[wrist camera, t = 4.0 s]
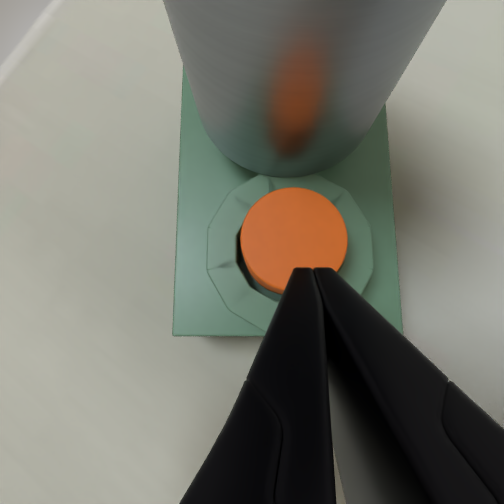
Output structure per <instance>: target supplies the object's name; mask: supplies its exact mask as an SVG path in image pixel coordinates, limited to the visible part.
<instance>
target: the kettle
mask: <svg viewBox="0 0 504 504" xmlns="http://www.w3.org/2000/svg"><path fill="white" fill-rule="evenodd" d="M446 1H447V0H163V2H164V5H165V8H166V11H167V14H168V17H169V21H170V24H171V27H172V30H173V33H174V37H175V40H176V43H177V46H178V49H179V52H180V56H181V59H182V62H183V65H184V68H185V71H186V75H187V78H188V81H189V84H190V87H191V91H192V94H193V97H194V100H195V103H196V106H197V110H198V113H199V116H200V119H201V122H202V125H203V127H204V129H205V131H206V133H207V135H208V136H209V138H210V139H211V140H212V142H213V143H214V145H215V146H216V147H217V148H218V149H219V150H220V151H221V152H222V153H223V154H224V155H225V156H227V157H228V158H229V159H230V160H232V161H233V162H235V163H237V164H238V165H240V166H242V167H244V168H246V169H248V170H250V171H253V172H256V173H259V174H263V175H268V176H273V177H301V176H306V175H311V174H314V173H317V172H320V171H323V170H326V169H328V168H330V167H332V166H334V165H336V164H337V163H339V162H340V161H342V160H343V159H345V158H346V157H347V156H348V155H349V154H350V153H352V152H353V151H354V150H355V149H356V147H357V146H358V145H359V144H360V143H361V142H362V140H363V139H364V137H365V136H366V134H367V132H368V131H369V129H370V127H371V126H372V124H373V122H374V121H375V119H376V117H377V116H378V114H379V112H380V111H381V109H382V107H383V106H384V104H385V102H386V101H387V99H388V97H389V96H390V94H391V92H392V91H393V89H394V87H395V86H396V84H397V82H398V81H399V79H400V77H401V76H402V74H403V72H404V71H405V69H406V67H407V66H408V64H409V62H410V61H411V59H412V57H413V56H414V54H415V52H416V51H417V49H418V47H419V46H420V44H421V42H422V41H423V39H424V37H425V36H426V34H427V32H428V31H429V29H430V27H431V26H432V24H433V22H434V21H435V19H436V17H437V16H438V14H439V12H440V11H441V9H442V7H443V6H444V4H445V2H446Z"/></svg>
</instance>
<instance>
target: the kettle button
mask: <svg viewBox="0 0 504 504" xmlns="http://www.w3.org/2000/svg"><path fill="white" fill-rule="evenodd" d="M240 241H241V249H242V253H243V257H244V260H245V263H246V266H247V268H248V270H249V272H250V274H251V275H252V277H253V278H254V279H255V280H256V281H257V282H258V283H259V284H260V285H261V286H263V287H264V288H266V289H267V290H269V291H272V292H274V293H277V294H283V292H284V289H285V287H286V285H287V282H288V280H289V278H290V275H291V273H292V271H293V269H294V268H295V267H310V268H312V269H313V268H315V267H331V268H332V269H334V270H335V271H336V272H337V271H338V270H339V268H340V267H341V265H342V263H343V261H344V259H345V255H346V252H347V246H348V236H347V229H346V225H345V222H344V220H343V218H342V216H341V214H340V212H339V211H338V210H337V208H336V207H335V206H334V205H333V204H332V203H331V202H330V201H329V200H328V199H327V198H325V197H324V196H322V195H321V194H319V193H317V192H314V191H312V190H309V189H305V188H298V187H289V188H282V189H278V190H275V191H272V192H270V193H268V194H266V195H265V196H263V197H261V198H260V199H259V200H258V201H257V202H256V203H255V204H254V205H253V206H252V207H251V208H250V210H249V211H248V213H247V215H246V217H245V219H244V221H243V224H242V228H241V236H240Z"/></svg>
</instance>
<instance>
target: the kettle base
mask: <svg viewBox="0 0 504 504" xmlns="http://www.w3.org/2000/svg"><path fill="white" fill-rule="evenodd" d="M289 187H298V188H305V189H309V190H312V191H314V192H317V193H319V194H321V195H322V196H324V197H325V198H327V199H328V200H329V201H330V202H331V203H332V204H333V205H334V206H335V207H336V208H337V210H338V211H339V212H340V214H341V216H342V218H343V220H344V222H345V225H346V229H347V236H348V246H347V252H346V255H345V259H344V261H343V263H342V265H341V267H340V268H339V270H338V271H337V273H338V274H339V275H340V276H341V277H342V278H343V279H344V280H345V281H346V282H347V283H348V284H349V285H351V286H352V287H353V288H354V289H355V290H356V291H357V292H358V293H359V294H360V295H361V296H362V297H363V298H364V299H365V300H366V301H367V302H368V303H369V304H371V305H372V306H373V307H374V308H375V309H376V310H377V311H378V312H379V313H380V314H381V315H382V316H383V317H384V318H385V319H386V320H387V321H388V322H390V323H391V324H392V325H393V326H394V327H395V328H396V329H397V330H398V331H399V332H400V333H401V334H402V335H403V326H402V313H401V300H400V288H399V275H398V262H397V249H396V236H395V223H394V210H393V197H392V184H391V171H390V158H389V145H388V132H387V119H386V106H385V104H384V106H383V107H382V109H381V111H380V112H379V114H378V116H377V117H376V119H375V121H374V122H373V124H372V126H371V127H370V129H369V131H368V132H367V134H366V136H365V137H364V139H363V140H362V142H361V143H360V144H359V145H358V146H357V147H356V149H355V150H354V151H353V152H352V153H350V154H349V155H348V156H347V157H346V158H345V159H343V160H342V161H340V162H339V163H337V164H336V165H334V166H332V167H330V168H328V169H326V170H323V171H320V172H317V173H314V174H311V175H306V176H301V177H273V176H268V175H263V174H259V173H256V172H253V171H250V170H248V169H246V168H244V167H242V166H240V165H238V164H237V163H235V162H233V161H232V160H230V159H229V158H228V157H227V156H225V155H224V154H223V153H222V152H221V151H220V150H219V149H218V148H217V147H216V146H215V145H214V143H213V142H212V140H211V139H210V138H209V136H208V135H207V133H206V131H205V129H204V127H203V125H202V122H201V119H200V116H199V113H198V110H197V106H196V103H195V100H194V97H193V94H192V91H191V87H190V84H189V81H188V78H187V75H186V71H185V68H184V65H183V80H182V106H181V131H180V156H179V181H178V206H177V231H176V256H175V281H174V306H173V332H172V334H173V336H265V334H266V331H267V329H268V327H269V324H270V322H271V320H272V317H273V315H274V313H275V310H276V308H277V306H278V303H279V301H280V299H281V296H282V294H277V293H274V292H272V291H269V290H267V289H266V288H264V287H263V286H261V285H260V284H259V283H258V282H257V281H256V280H255V279H254V278H253V277H252V275H251V274H250V272H249V270H248V268H247V266H246V263H245V260H244V257H243V253H242V249H241V241H240V236H241V228H242V224H243V221H244V219H245V217H246V215H247V213H248V211H249V210H250V208H251V207H252V206H253V205H254V204H255V203H256V202H257V201H258V200H259V199H260V198H261V197H263V196H265V195H266V194H268V193H270V192H272V191H275V190H278V189H282V188H289Z"/></svg>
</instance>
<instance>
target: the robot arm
mask: <svg viewBox="0 0 504 504" xmlns="http://www.w3.org/2000/svg"><path fill="white" fill-rule="evenodd" d="M332 442H333V445H332ZM333 447H334V451H335V456H336V460H337V464H338V469H339V473H340V478H341V482H342V487H343V491H344V496H345V500H346V504H504V429H503V428H502V427H501V426H500V425H499V424H497V423H496V422H495V421H494V420H493V419H492V418H491V417H490V416H489V415H488V414H486V413H485V412H484V411H483V410H482V409H481V408H480V407H479V406H478V405H477V404H475V403H474V402H473V401H472V400H471V399H470V398H469V397H468V396H467V395H466V394H465V393H464V392H463V391H462V390H461V389H459V388H458V387H457V386H456V385H455V384H454V383H453V382H451V381H449V382H448V378H447V376H445V375H444V374H443V373H442V372H441V371H440V370H439V369H438V368H437V367H436V366H435V365H434V364H433V363H432V362H431V361H430V360H429V359H428V358H426V357H425V356H424V355H423V354H422V353H421V352H420V351H419V350H418V349H417V348H416V347H415V346H414V345H413V344H412V343H411V342H410V341H409V340H407V339H406V338H405V337H404V336H403V335H402V334H401V333H400V332H399V331H398V330H397V329H396V328H395V327H394V326H393V325H392V324H391V323H390V322H388V321H387V320H386V319H385V318H384V317H383V316H382V315H381V314H380V313H379V312H378V311H377V310H376V309H375V308H374V307H373V306H372V305H371V304H369V303H368V302H367V301H366V300H365V299H364V298H363V297H362V296H361V295H360V294H359V293H358V292H357V291H356V290H355V289H354V288H353V287H352V286H351V285H349V284H348V283H347V282H346V281H345V280H344V279H343V278H342V277H341V276H340V275H339V274H338V273H337V272H336V271H335V270H334V269H332V268H331V267H315V268H313V269H312V268H310V267H295V268H294V269H293V271H292V273H291V275H290V278H289V280H288V282H287V285H286V287H285V289H284V292H283V294H282V296H281V299H280V301H279V303H278V306H277V308H276V310H275V313H274V315H273V317H272V320H271V322H270V324H269V327H268V329H267V331H266V334H265V336H264V338H263V341H262V343H261V345H260V348H259V350H258V352H257V355H256V357H255V359H254V362H253V364H252V366H251V368H250V371H249V373H248V375H247V380H246V381H245V382H244V384H243V386H242V389H241V391H240V393H239V396H238V398H237V400H236V402H235V404H234V406H233V409H232V411H231V413H230V415H229V417H228V419H227V421H226V423H225V425H224V427H223V429H222V431H221V433H220V435H219V436H218V438H217V440H216V442H215V444H214V445H213V447H212V449H211V451H210V453H209V454H208V456H207V458H206V460H205V461H204V463H203V465H202V466H201V468H200V470H199V471H198V473H197V475H196V476H195V478H194V480H193V481H192V483H191V485H190V487H189V488H188V490H187V492H186V493H185V495H184V497H183V498H182V500H181V502H180V503H179V504H336V491H335V476H334V460H333Z"/></svg>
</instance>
